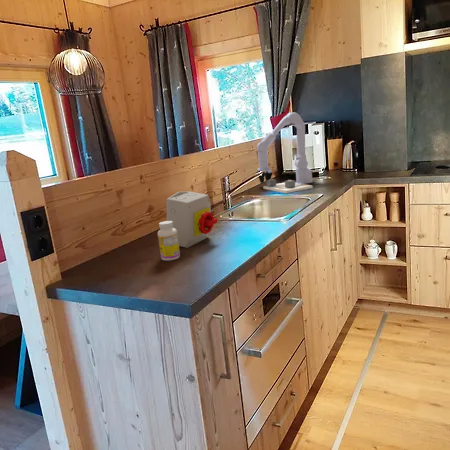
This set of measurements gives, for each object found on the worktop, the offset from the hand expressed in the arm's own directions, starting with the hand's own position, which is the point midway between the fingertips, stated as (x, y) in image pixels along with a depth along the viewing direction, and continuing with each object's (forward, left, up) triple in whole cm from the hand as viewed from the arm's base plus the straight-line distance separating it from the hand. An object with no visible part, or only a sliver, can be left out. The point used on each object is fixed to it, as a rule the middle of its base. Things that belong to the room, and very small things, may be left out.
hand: (265, 183), depth 271 cm
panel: (-6, +15, -3) cm, 17 cm away
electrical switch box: (+80, +83, -3) cm, 116 cm away
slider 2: (-4, +22, -1) cm, 22 cm away
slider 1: (0, +7, -1) cm, 8 cm away
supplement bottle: (+94, +95, -3) cm, 134 cm away
